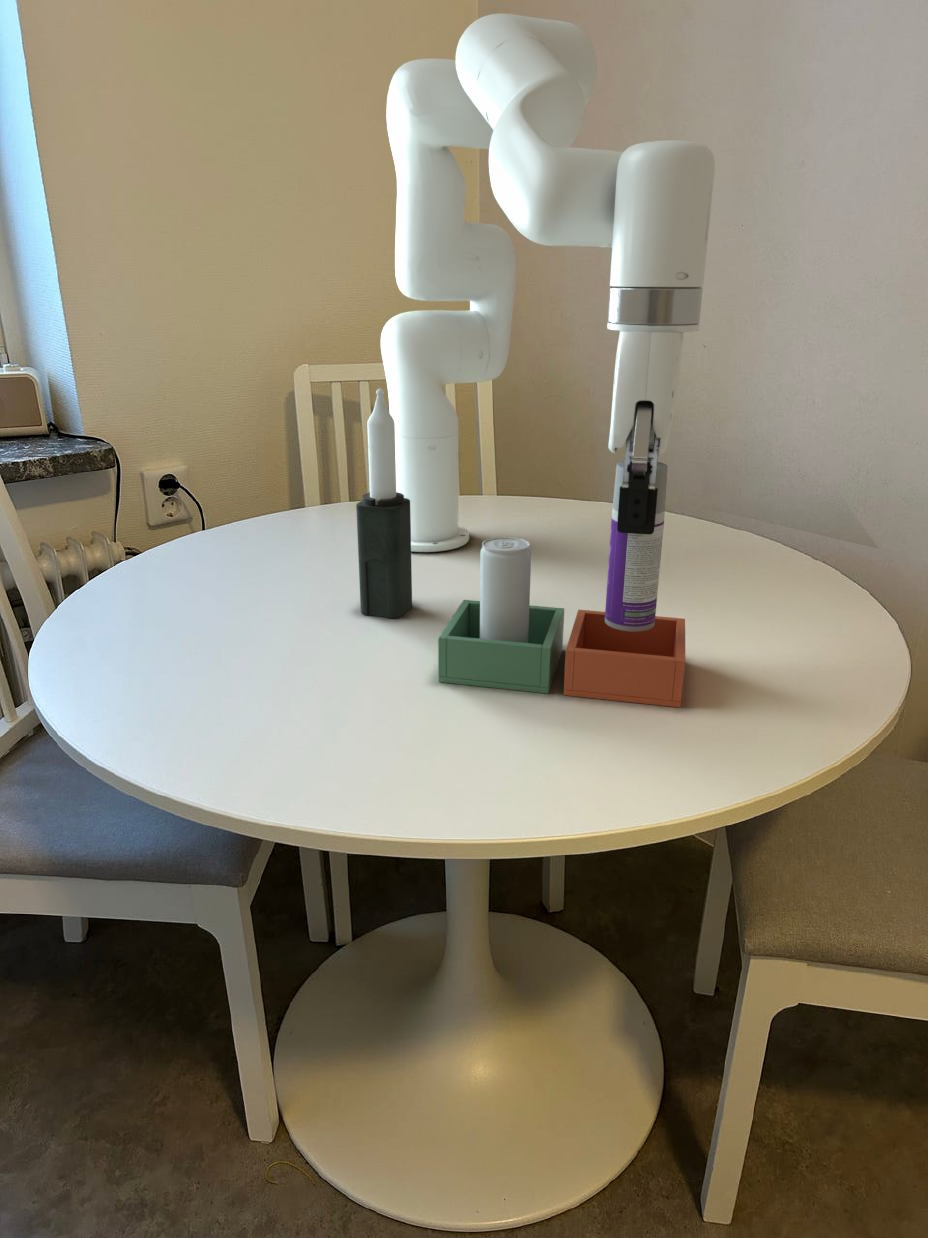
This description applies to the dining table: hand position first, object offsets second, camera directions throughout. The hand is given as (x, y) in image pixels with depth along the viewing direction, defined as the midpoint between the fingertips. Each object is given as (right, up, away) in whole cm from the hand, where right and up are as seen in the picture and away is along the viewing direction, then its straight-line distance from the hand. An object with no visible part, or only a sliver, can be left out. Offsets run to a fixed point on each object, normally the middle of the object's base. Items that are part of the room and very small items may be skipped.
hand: (636, 522), depth 79 cm
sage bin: (-12, -13, +8) cm, 20 cm away
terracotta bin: (0, -14, +6) cm, 15 cm away
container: (0, -9, +4) cm, 10 cm away
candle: (-25, -8, +22) cm, 34 cm away
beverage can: (-12, -13, +8) cm, 19 cm away
